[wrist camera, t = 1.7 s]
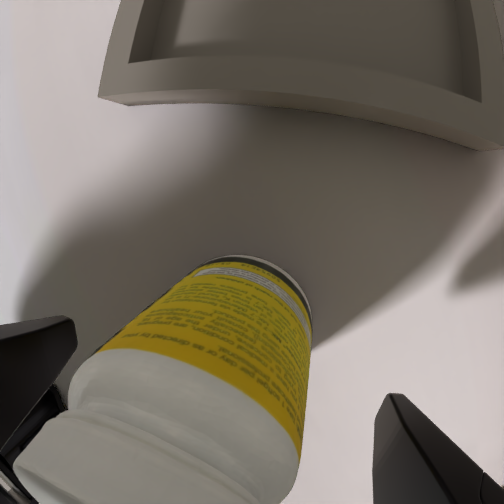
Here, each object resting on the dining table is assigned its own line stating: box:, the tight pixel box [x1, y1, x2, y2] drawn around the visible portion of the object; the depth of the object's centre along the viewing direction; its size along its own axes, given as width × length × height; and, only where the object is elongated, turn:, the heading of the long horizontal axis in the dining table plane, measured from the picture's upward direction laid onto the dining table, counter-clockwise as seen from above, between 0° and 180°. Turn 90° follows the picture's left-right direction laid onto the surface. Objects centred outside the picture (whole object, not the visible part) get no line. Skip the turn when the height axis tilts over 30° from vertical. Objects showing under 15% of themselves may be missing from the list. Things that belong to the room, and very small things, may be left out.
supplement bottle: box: [13, 255, 312, 504], centre depth 6 cm, size 5×5×8 cm
